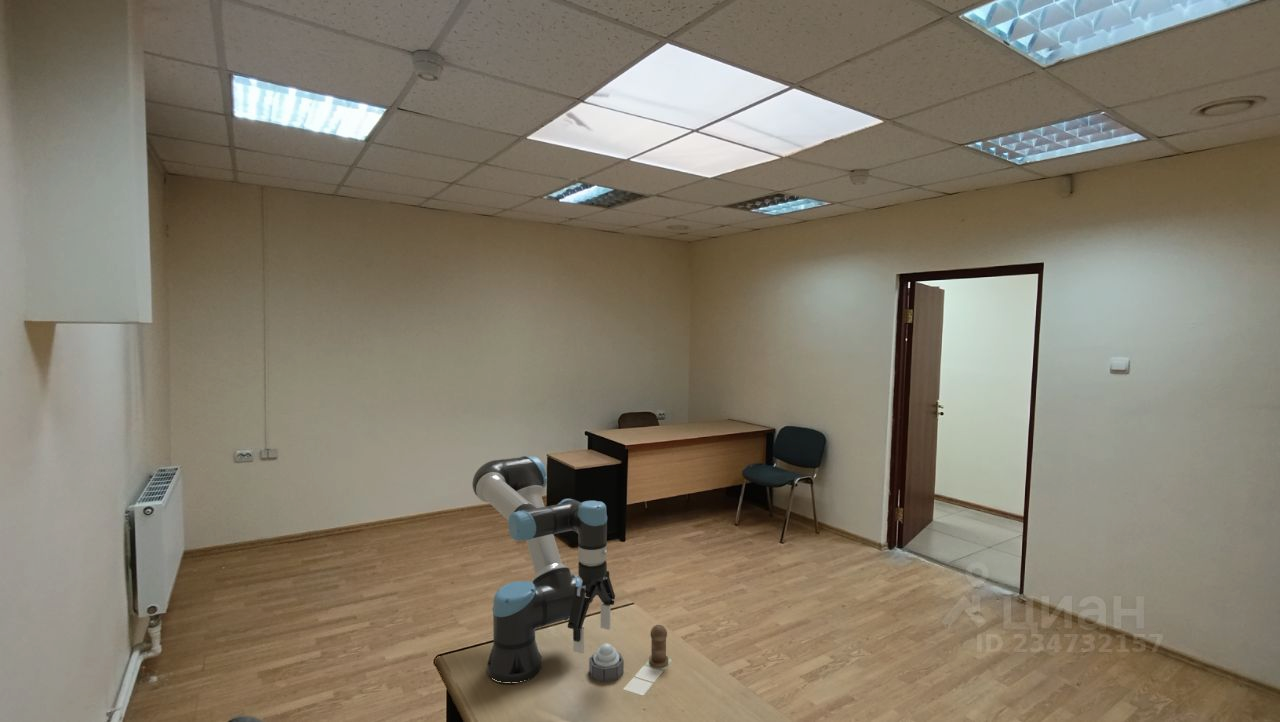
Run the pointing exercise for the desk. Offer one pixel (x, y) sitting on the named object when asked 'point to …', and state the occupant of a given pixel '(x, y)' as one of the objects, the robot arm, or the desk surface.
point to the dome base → (606, 670)
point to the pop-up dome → (606, 656)
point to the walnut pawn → (658, 647)
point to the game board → (646, 674)
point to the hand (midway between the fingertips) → (592, 639)
